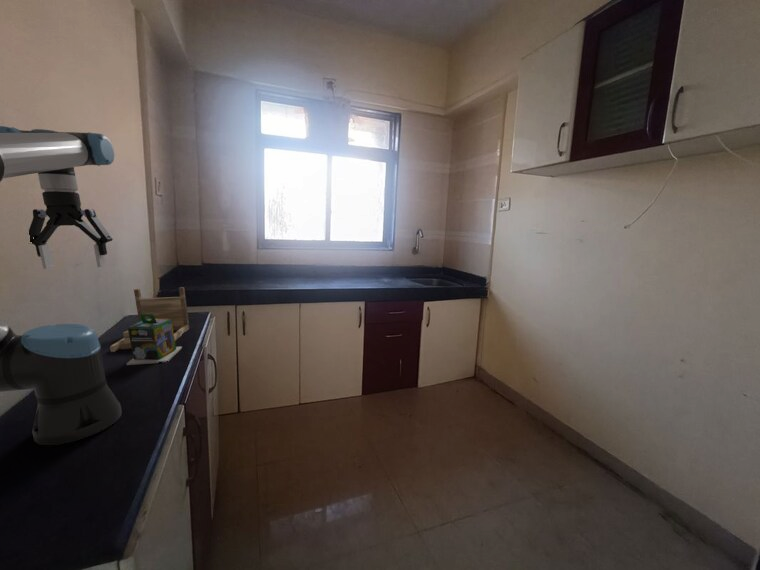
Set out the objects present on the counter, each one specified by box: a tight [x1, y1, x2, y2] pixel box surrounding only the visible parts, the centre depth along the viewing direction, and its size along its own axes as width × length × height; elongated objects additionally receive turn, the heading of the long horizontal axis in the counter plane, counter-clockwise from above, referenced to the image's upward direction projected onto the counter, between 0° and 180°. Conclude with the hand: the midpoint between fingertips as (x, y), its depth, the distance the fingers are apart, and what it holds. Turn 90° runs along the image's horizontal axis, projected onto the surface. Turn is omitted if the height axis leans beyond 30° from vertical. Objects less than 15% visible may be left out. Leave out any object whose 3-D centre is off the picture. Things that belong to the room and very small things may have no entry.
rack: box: [109, 286, 190, 353], centre depth 128 cm, size 22×18×18 cm
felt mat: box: [126, 346, 183, 366], centre depth 114 cm, size 12×12×1 cm
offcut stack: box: [119, 329, 132, 350], centre depth 123 cm, size 4×14×6 cm, turn 100°
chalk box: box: [127, 314, 177, 360], centre depth 113 cm, size 9×9×15 cm
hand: (75, 267), depth 97 cm, fingers open, 13 cm apart
